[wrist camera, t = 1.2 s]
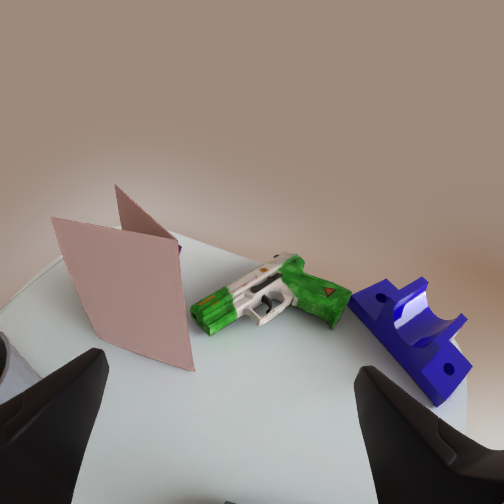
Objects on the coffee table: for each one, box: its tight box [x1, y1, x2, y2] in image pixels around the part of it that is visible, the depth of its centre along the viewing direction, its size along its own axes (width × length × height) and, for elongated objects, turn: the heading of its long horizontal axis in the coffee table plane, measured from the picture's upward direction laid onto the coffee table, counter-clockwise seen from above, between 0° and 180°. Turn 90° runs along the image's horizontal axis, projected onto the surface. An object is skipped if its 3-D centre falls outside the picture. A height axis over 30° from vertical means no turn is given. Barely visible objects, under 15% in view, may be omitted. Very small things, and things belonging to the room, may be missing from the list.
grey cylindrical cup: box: [0, 331, 42, 405], centre depth 14 cm, size 7×7×8 cm
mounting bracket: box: [347, 277, 472, 407], centre depth 26 cm, size 18×7×6 cm, turn 26°
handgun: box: [190, 252, 352, 336], centre depth 30 cm, size 3×16×12 cm
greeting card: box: [51, 184, 195, 372], centre depth 21 cm, size 11×7×15 cm, turn 44°
